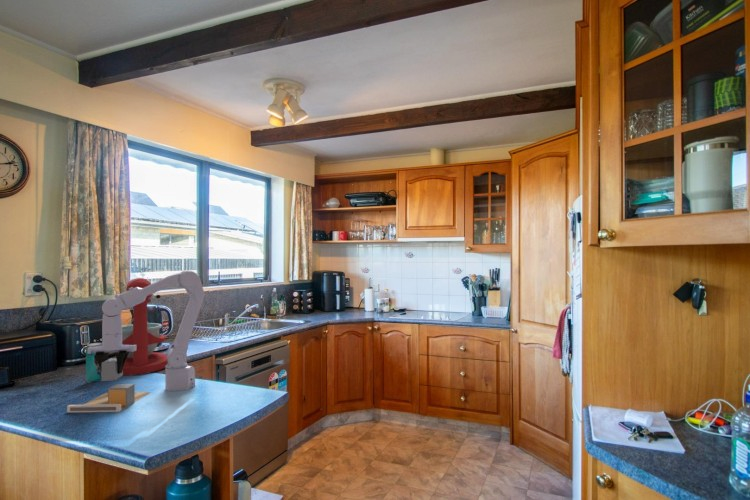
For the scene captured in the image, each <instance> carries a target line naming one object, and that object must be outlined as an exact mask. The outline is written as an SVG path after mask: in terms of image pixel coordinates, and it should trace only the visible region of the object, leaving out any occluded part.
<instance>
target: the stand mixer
mask: <svg viewBox="0 0 750 500" xmlns="http://www.w3.org/2000/svg"><path fill="white" fill-rule="evenodd" d="M151 284H152V283H151V282H150V281H149V280H148V279H146V278H143V277H137V278H134V279H131V280H130V281H129V282H127V284H126V289H125V290H126V291H129V288H131V287H133V288H135V287H139V288H144V287H147V286H149V285H151ZM126 291H125V292H126ZM154 298H156V299H160V298H161V295H160V294H156V295H155V293H153V294H150V295H148V296H147V297H146V299H145V301H144V302H142V303H139V304H137V305H135V306H133V307H132V309H133V318H131V320H130V321H129V322H128V323H127V324H125V325H122V345H136V351H134V352H131V351H130V353H129V355H128V357H127V358H126V361H125V363H124V366H123V375H122V376H137V375H145V374H150V373H154V372H158V371H160V370H162V369H165V368H166V367H165V366H166V365H167V364H168V360H167V358H166V353H162V352H154V351H155V349H157V346H158V344H159V343H163V342H165V341H166V340H167V339H166V338H167V337H166V335H165V334H164V333H162V332H160V331H161V328H162V327H163V325H162V324H161V323H156V322H149V320H148V304H149V303H151V302H152V301H151V300H153V299H154Z"/></svg>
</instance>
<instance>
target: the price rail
mask: <svg viewBox="0 0 750 500" xmlns="http://www.w3.org/2000/svg"><path fill="white" fill-rule="evenodd" d="M66 407H67V410H66V412H76V413H118V412H121V411H122V410H121V404H87V405H83V404H68V405H67V406H66Z"/></svg>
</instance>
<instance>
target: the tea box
mask: <svg viewBox="0 0 750 500" xmlns="http://www.w3.org/2000/svg"><path fill="white" fill-rule="evenodd" d="M122 376H124V375H123V371H122V373H120V374H118V373H117V359H116V357H113V358H108V360H106V361H104V362H102V381H101V382H105V381H107V382H108V381H110V382H111V381H116V380H118V379H119V378H120V377H122Z"/></svg>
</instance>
